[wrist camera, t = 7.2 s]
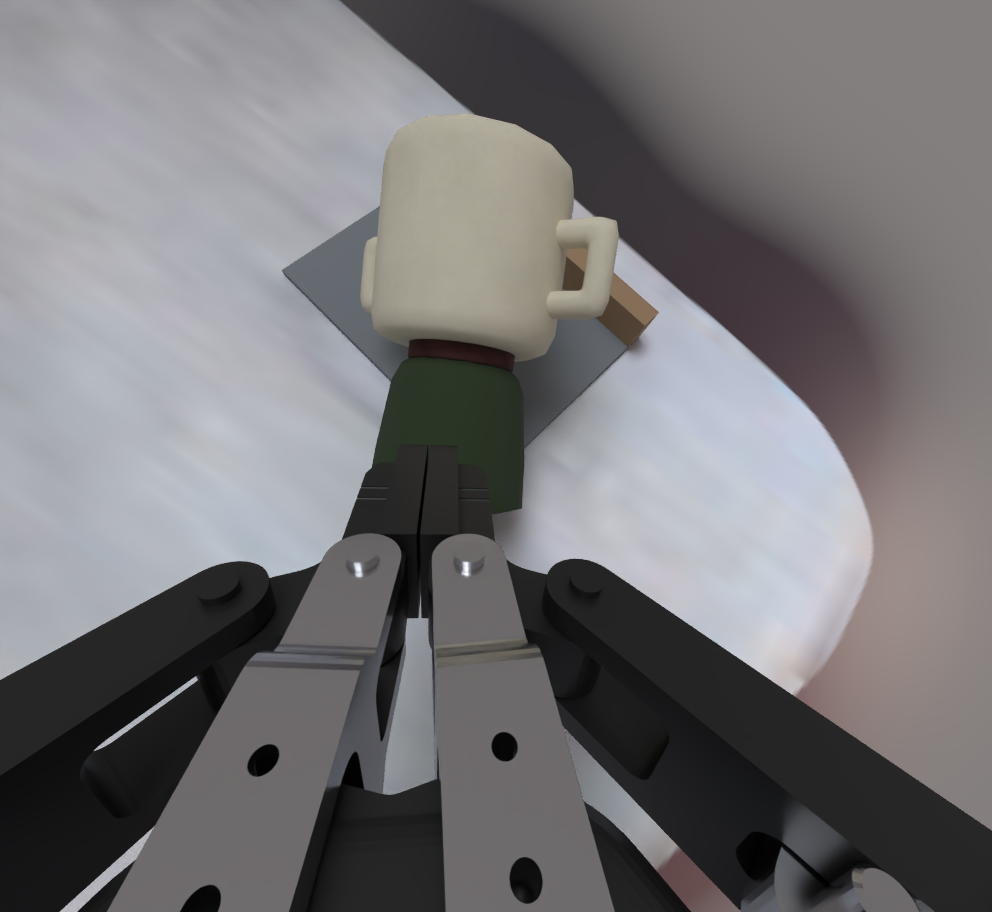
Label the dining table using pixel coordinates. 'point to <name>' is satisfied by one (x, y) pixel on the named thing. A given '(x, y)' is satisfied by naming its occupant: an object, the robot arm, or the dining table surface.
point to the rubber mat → (543, 380)
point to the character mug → (475, 284)
